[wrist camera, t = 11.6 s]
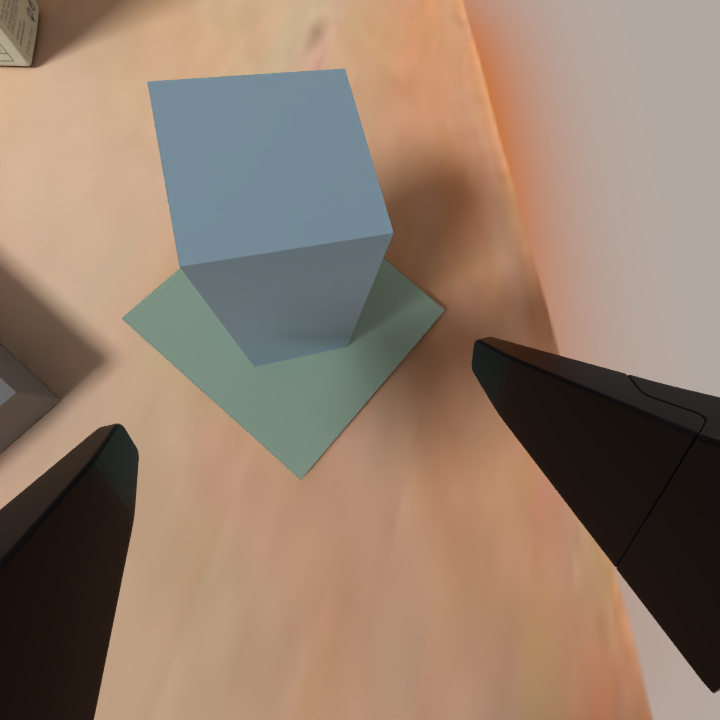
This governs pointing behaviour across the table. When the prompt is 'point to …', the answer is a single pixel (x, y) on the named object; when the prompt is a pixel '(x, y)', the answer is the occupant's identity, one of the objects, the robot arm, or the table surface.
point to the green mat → (288, 363)
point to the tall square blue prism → (273, 205)
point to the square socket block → (20, 398)
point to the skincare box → (18, 31)
